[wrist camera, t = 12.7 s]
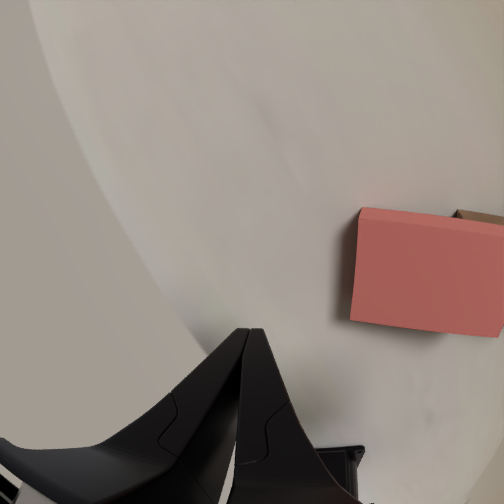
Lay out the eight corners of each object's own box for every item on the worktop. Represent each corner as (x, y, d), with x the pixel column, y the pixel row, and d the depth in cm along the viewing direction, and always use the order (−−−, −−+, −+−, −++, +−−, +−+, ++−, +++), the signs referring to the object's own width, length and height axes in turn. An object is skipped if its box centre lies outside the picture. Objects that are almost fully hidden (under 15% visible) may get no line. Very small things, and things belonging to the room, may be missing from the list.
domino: (362, 207, 12) (518, 228, 9) (354, 301, 14) (491, 318, 11) (358, 218, 11) (530, 241, 8) (349, 319, 13) (498, 337, 10)
